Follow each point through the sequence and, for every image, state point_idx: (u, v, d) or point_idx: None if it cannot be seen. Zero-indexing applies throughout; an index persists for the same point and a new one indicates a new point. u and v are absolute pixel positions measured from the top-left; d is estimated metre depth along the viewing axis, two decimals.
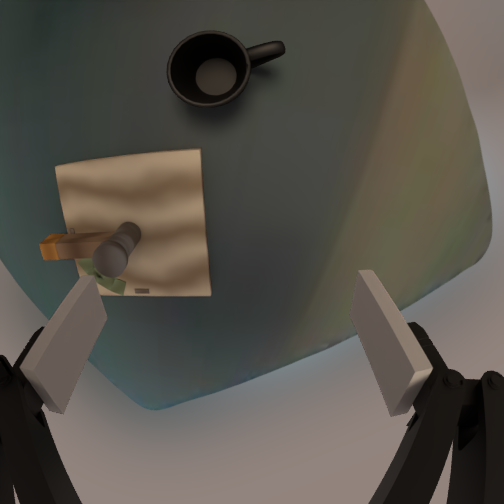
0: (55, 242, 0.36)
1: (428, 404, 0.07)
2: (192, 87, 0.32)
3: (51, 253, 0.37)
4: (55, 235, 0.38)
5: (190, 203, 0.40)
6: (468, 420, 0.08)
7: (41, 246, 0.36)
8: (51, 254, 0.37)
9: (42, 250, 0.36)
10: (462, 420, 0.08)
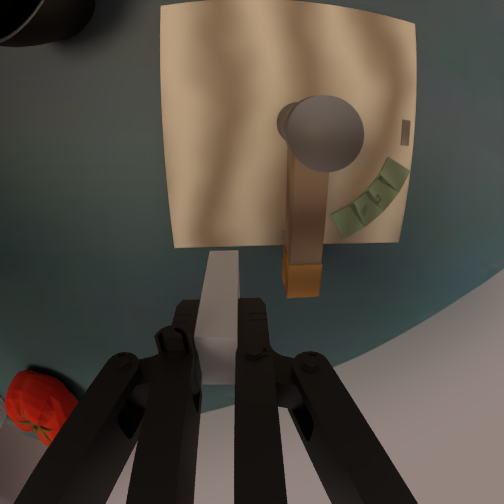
0: (289, 263, 0.23)
1: (235, 383, 0.09)
2: None
3: (308, 276, 0.24)
4: (283, 265, 0.26)
5: (248, 16, 0.19)
6: (288, 401, 0.10)
7: (292, 294, 0.24)
8: (310, 277, 0.24)
9: (300, 294, 0.24)
10: (280, 400, 0.10)
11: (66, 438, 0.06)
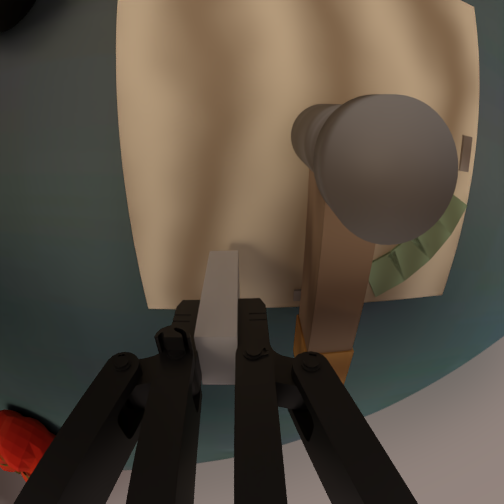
0: (306, 350, 0.15)
1: (235, 383, 0.09)
2: None
3: (332, 365, 0.16)
4: (296, 340, 0.18)
5: None
6: (288, 401, 0.10)
7: None
8: (334, 367, 0.16)
9: None
10: (280, 400, 0.10)
11: (66, 438, 0.06)
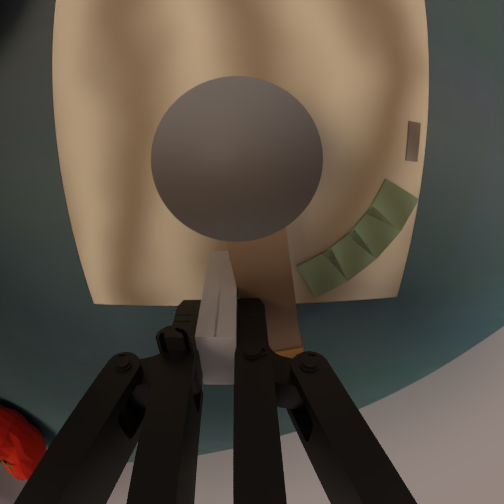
0: None
1: (234, 384, 0.09)
2: None
3: None
4: None
5: None
6: (288, 402, 0.10)
7: None
8: None
9: None
10: (279, 400, 0.10)
11: (67, 438, 0.06)
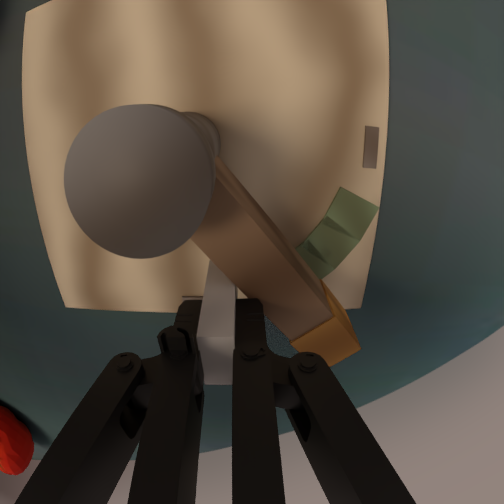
0: (290, 337, 0.15)
1: (233, 384, 0.09)
2: None
3: (328, 338, 0.15)
4: None
5: None
6: (285, 402, 0.10)
7: None
8: (331, 339, 0.14)
9: (333, 360, 0.15)
10: (277, 400, 0.10)
11: (68, 438, 0.06)
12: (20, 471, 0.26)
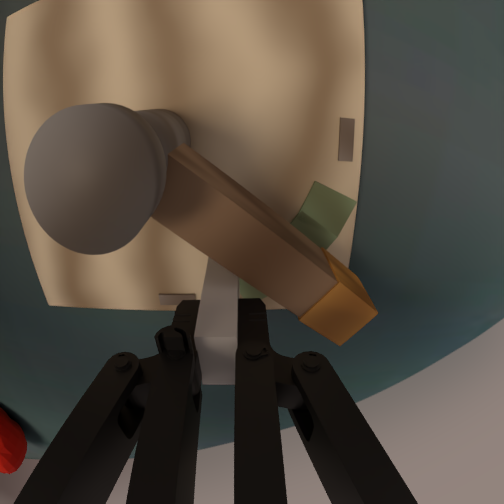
0: (298, 313, 0.14)
1: (235, 383, 0.09)
2: None
3: (339, 308, 0.14)
4: None
5: (92, 1, 0.11)
6: (288, 401, 0.10)
7: (341, 338, 0.14)
8: (341, 307, 0.14)
9: (351, 331, 0.14)
10: (280, 400, 0.10)
11: (66, 438, 0.06)
12: (13, 469, 0.26)
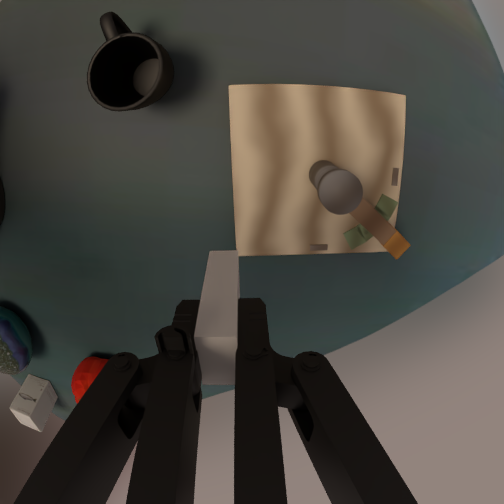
0: (382, 244, 0.35)
1: (235, 384, 0.09)
2: None
3: (396, 242, 0.35)
4: None
5: (290, 98, 0.32)
6: (288, 401, 0.10)
7: (397, 256, 0.35)
8: (397, 241, 0.34)
9: (400, 252, 0.35)
10: (280, 400, 0.10)
11: (66, 438, 0.06)
12: None
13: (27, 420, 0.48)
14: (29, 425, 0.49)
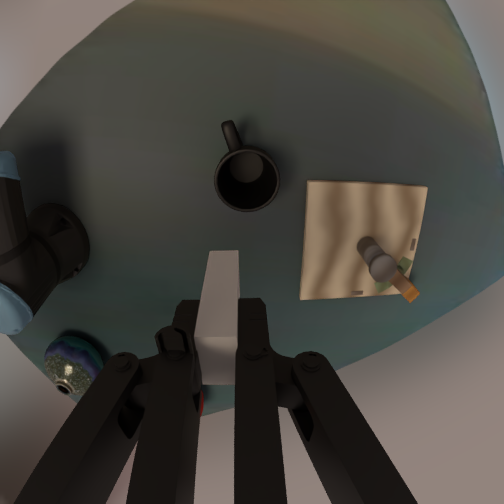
0: (402, 293, 0.50)
1: (235, 383, 0.09)
2: (256, 187, 0.45)
3: (411, 292, 0.50)
4: None
5: (350, 193, 0.47)
6: (288, 402, 0.10)
7: (410, 300, 0.51)
8: (412, 292, 0.50)
9: (413, 298, 0.50)
10: (280, 400, 0.10)
11: (66, 438, 0.06)
12: None
13: None
14: None
